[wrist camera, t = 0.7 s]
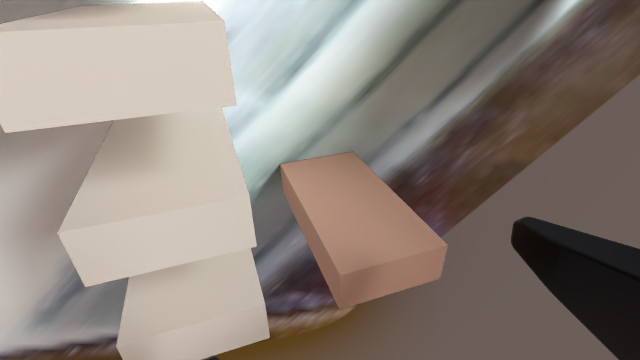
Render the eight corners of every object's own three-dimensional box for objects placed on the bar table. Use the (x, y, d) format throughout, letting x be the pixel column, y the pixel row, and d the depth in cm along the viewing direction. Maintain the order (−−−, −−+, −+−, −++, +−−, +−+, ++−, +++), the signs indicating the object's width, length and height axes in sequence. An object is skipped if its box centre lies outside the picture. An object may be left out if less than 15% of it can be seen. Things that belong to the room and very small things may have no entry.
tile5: (144, 193, 19) (116, 346, 11) (233, 178, 21) (265, 304, 13) (153, 221, 20) (133, 380, 12) (237, 205, 22) (270, 337, 14)
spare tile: (280, 164, 21) (340, 275, 13) (352, 151, 23) (447, 245, 15) (282, 190, 22) (339, 309, 14) (351, 177, 24) (440, 278, 16)
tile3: (81, 5, 15) (-47, 34, 6) (202, 1, 16) (224, 20, 8) (98, 54, 16) (4, 133, 7) (210, 46, 17) (236, 105, 9)
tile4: (117, 113, 17) (57, 233, 9) (219, 101, 18) (249, 195, 10) (129, 149, 18) (85, 287, 10) (225, 135, 19) (257, 246, 11)
